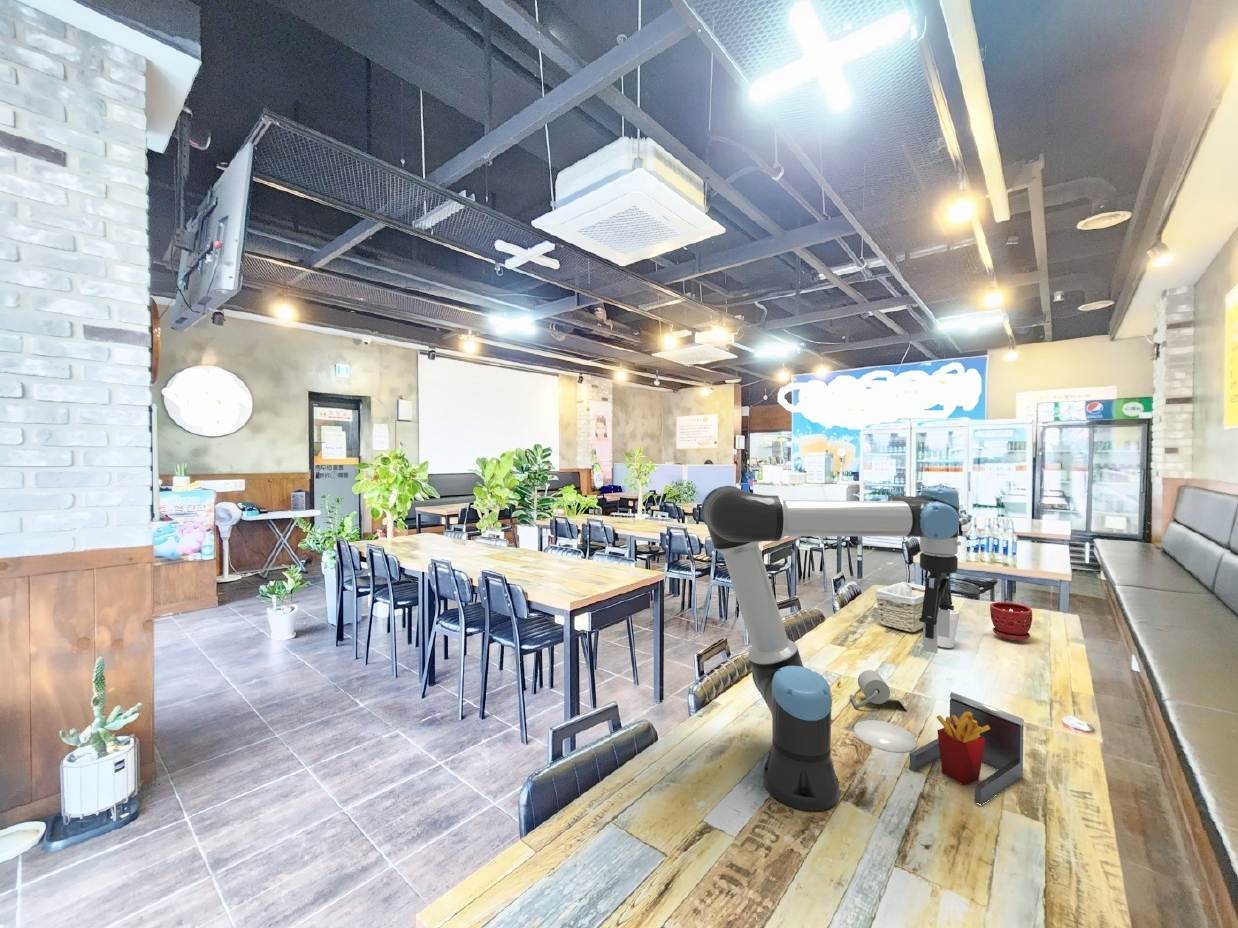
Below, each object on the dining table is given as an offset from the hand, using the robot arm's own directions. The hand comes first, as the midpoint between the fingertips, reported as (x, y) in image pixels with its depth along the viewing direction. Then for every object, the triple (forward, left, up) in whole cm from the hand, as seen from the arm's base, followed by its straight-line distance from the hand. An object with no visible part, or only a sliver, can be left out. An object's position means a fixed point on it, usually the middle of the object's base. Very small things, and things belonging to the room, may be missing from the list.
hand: (936, 643), depth 120 cm
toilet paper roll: (+14, +20, -30) cm, 39 cm away
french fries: (-3, -8, -27) cm, 29 cm away
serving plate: (-3, +11, -27) cm, 29 cm away
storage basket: (+89, +57, -27) cm, 110 cm away
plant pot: (+108, +28, -27) cm, 115 cm away
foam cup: (+77, +37, -27) cm, 90 cm away
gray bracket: (-4, -7, -27) cm, 28 cm away
